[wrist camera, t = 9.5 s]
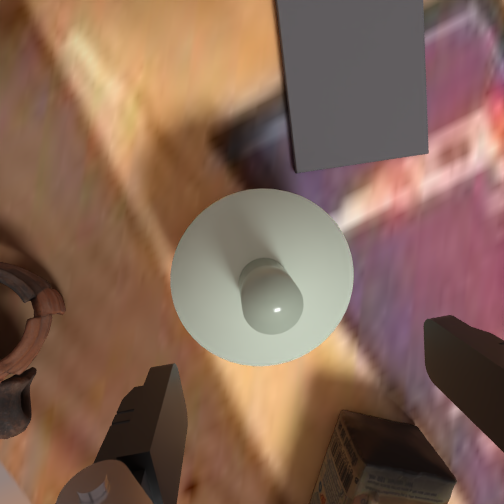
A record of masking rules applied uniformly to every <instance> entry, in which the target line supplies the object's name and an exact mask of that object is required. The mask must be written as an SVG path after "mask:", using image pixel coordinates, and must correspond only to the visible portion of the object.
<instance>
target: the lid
mask: <svg viewBox="0 0 504 504" xmlns="http://www.w3.org/2000/svg"><path fill="white" fill-rule="evenodd" d="M353 279H354V276H353V262H352V256H351V253H350V249H349V246H348V243H347V241H346V239H345V237H344V235H343V233H342V231H341V230H340V228H339V227H338V225H337V224H336V223H335V221H334V220H333V219H332V218H331V217H330V216H329V215H328V214H327V213H326V212H325V211H324V210H323V209H322V208H320V207H319V206H317V205H316V204H314V203H313V202H311V201H310V200H308V199H306V198H304V197H302V196H300V195H297V194H293V193H290V192H287V191H282V190H276V189H264V188H259V189H248V190H244V191H239V192H236V193H233V194H230V195H227V196H225V197H223V198H221V199H219V200H217V201H216V202H214V203H213V204H211V205H210V206H208V207H207V208H206V209H204V210H203V211H202V212H201V213H200V214H199V215H198V216H197V217H196V218H195V219H194V221H193V222H192V223H191V224H190V226H189V227H188V228H187V229H186V231H185V233H184V234H183V236H182V238H181V239H180V242H179V244H178V246H177V248H176V251H175V254H174V258H173V261H172V268H171V293H172V299H173V302H174V306H175V309H176V311H177V314H178V316H179V318H180V320H181V322H182V323H183V325H184V327H185V328H186V330H187V331H188V332H189V333H190V335H191V336H192V337H193V338H194V339H195V340H196V341H197V342H198V343H199V344H200V345H201V346H202V347H204V348H205V349H207V350H208V351H209V352H211V353H213V354H215V355H216V356H218V357H220V358H222V359H225V360H228V361H230V362H234V363H238V364H242V365H249V366H270V365H277V364H281V363H285V362H289V361H291V360H294V359H297V358H299V357H301V356H303V355H305V354H307V353H309V352H310V351H312V350H313V349H315V348H316V347H317V346H319V345H320V344H321V343H322V342H323V341H324V340H326V339H327V338H328V336H329V335H330V334H331V333H332V332H333V331H334V330H335V328H336V327H337V325H338V324H339V323H340V321H341V319H342V317H343V315H344V314H345V312H346V309H347V306H348V304H349V301H350V297H351V293H352V288H353Z"/></svg>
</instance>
